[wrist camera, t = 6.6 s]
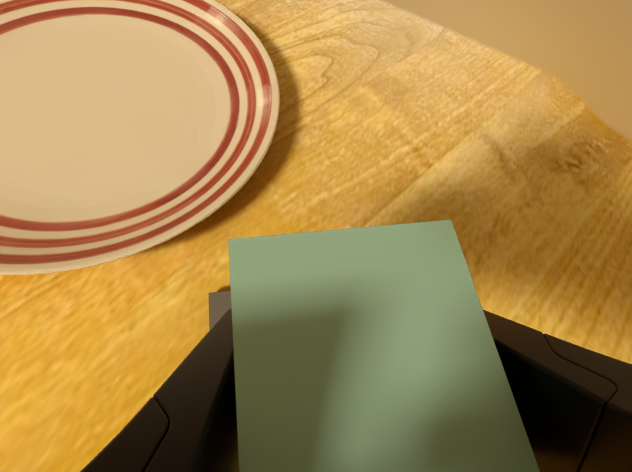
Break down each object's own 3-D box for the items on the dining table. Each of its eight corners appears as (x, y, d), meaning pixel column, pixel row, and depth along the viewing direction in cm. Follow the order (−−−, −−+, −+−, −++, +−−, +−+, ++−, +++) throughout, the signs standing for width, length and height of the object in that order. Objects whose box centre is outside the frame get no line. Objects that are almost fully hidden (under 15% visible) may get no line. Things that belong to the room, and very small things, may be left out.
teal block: (368, 416, 14) (543, 481, 5) (264, 436, 13) (243, 555, 4) (349, 312, 16) (450, 219, 7) (255, 325, 15) (228, 239, 6)
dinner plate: (193, -24, 33) (184, -65, 30) (344, 176, 25) (353, 148, 22) (-154, 51, 24) (-214, 4, 21) (-85, 386, 17) (-164, 388, 14)
